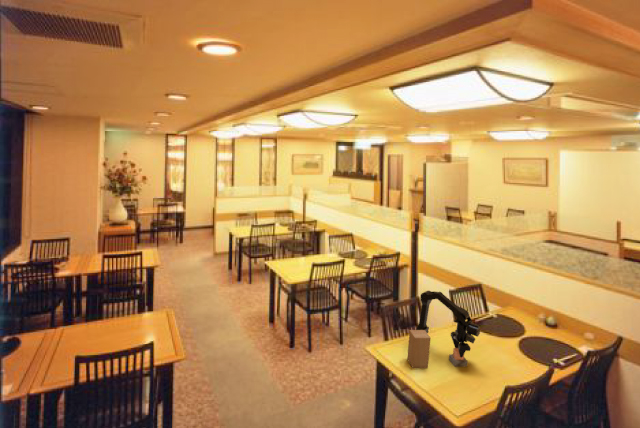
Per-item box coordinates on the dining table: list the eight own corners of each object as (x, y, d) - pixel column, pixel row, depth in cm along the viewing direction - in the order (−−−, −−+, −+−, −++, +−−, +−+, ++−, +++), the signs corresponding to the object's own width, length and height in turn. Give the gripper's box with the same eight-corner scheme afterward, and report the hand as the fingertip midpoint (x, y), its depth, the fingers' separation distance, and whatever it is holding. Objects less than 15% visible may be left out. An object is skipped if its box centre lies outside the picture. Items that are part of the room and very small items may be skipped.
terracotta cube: (455, 359, 224) (456, 352, 223) (452, 355, 229) (453, 348, 228) (463, 360, 224) (464, 352, 223) (460, 355, 229) (461, 348, 228)
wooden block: (407, 359, 229) (409, 329, 226) (422, 358, 230) (424, 329, 227) (412, 368, 220) (414, 337, 216) (428, 368, 220) (430, 337, 217)
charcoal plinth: (454, 367, 223) (455, 361, 222) (448, 360, 231) (449, 354, 230) (467, 367, 224) (467, 361, 223) (460, 359, 231) (461, 354, 231)
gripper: (480, 338, 214) (477, 362, 217) (469, 324, 232) (466, 346, 235) (461, 337, 214) (458, 361, 217) (451, 323, 233) (449, 345, 235)
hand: (458, 353), depth 226 cm, fingers open, 8 cm apart
